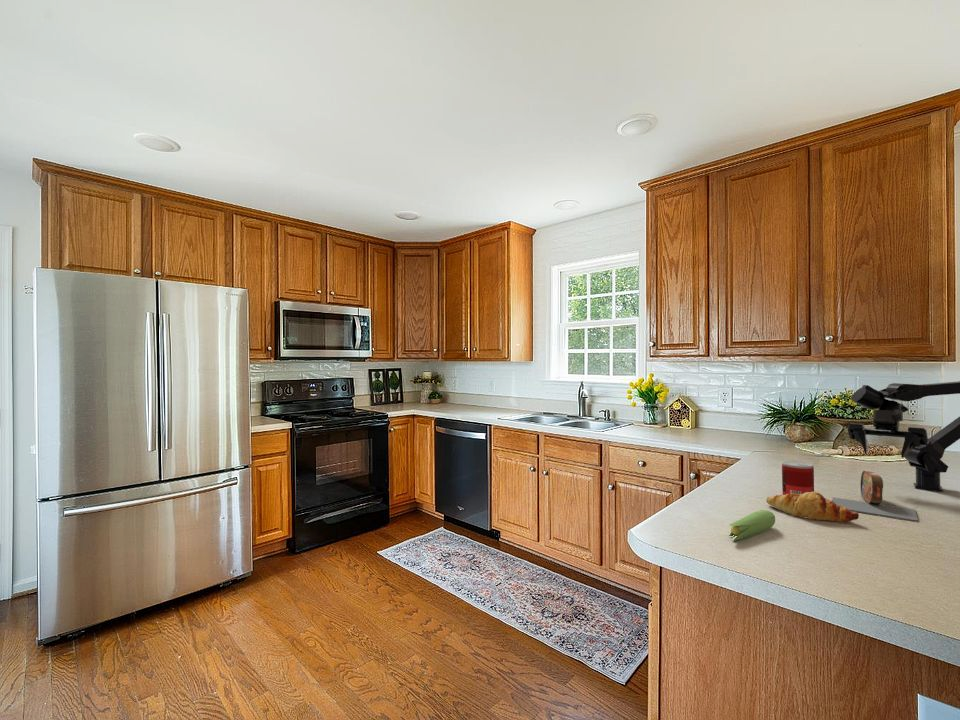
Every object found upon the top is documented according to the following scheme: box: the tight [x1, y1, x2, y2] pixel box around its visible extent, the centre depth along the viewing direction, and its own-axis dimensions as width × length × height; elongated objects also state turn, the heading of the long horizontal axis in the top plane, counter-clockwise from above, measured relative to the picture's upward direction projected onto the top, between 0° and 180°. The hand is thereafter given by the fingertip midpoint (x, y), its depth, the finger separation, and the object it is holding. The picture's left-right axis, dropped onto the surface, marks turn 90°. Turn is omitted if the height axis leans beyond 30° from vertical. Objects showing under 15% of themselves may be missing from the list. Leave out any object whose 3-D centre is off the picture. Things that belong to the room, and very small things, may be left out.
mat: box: [831, 496, 919, 523], centre depth 127 cm, size 12×18×1 cm, turn 49°
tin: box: [860, 470, 884, 504], centre depth 133 cm, size 15×3×8 cm, turn 149°
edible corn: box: [728, 509, 776, 542], centre depth 110 cm, size 5×20×5 cm
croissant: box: [765, 491, 860, 523], centre depth 123 cm, size 21×10×8 cm, turn 40°
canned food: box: [781, 460, 815, 495], centre depth 137 cm, size 8×8×11 cm
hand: (883, 455), depth 140 cm, fingers open, 8 cm apart
